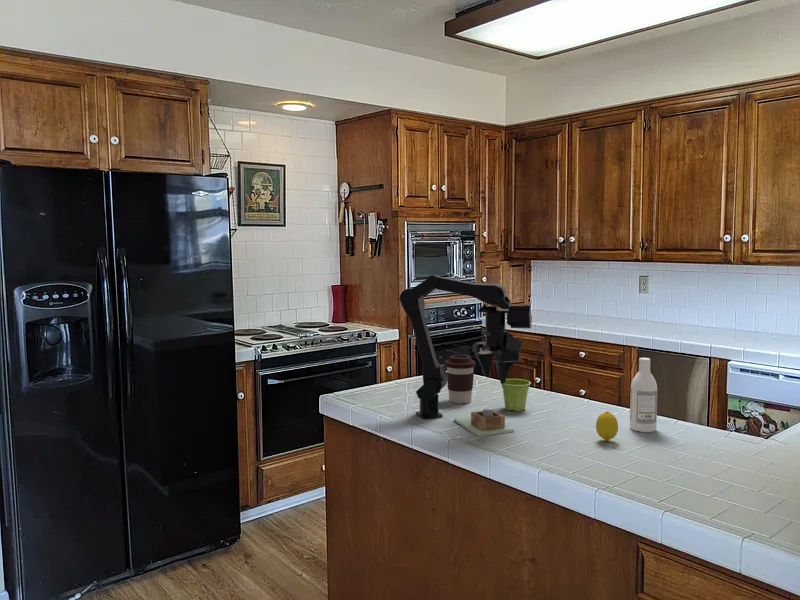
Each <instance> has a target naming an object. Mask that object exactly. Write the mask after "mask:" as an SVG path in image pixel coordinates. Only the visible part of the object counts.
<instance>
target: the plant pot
mask: <svg viewBox="0 0 800 600" xmlns="http://www.w3.org/2000/svg"><path fill="white" fill-rule="evenodd" d="M499 382H500V381H499ZM500 384H501V382H500ZM531 384H532V382H531V381H530V380H526V379H521V378H506V381H505V383H504V384H501V388H502V393H503V400H504V409H506V410H507V411H514V412H521V411H524V410H525V409H526V404H527V397H528V393H529V392H528V391H529V389H530V385H531Z"/></svg>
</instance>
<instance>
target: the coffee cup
mask: <svg viewBox="0 0 800 600" xmlns="http://www.w3.org/2000/svg"><path fill="white" fill-rule="evenodd" d="M444 364H445V368H446V373H447V374H448V377H447V383H446V385H447V389H448V400H449V401H448V402H450V403H452V404H457V403H459V405H461V404H462V403H465V404H469V403H471V401H472V395H473V388H474V375H475V372H474V368H475V367H476V361H475V360H473V359H472V357H471V356H470V355H465V354H455V355H449V358H448V359H446V360H445V361H444Z"/></svg>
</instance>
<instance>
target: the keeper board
mask: <svg viewBox="0 0 800 600" xmlns="http://www.w3.org/2000/svg"><path fill="white" fill-rule="evenodd" d="M493 410H494V409H488V408H486V409H482V411H483V417H489V416H493ZM453 422H455V423H456V422H457V423H456V424H458V425H459V424H460V425H459V426H461V427H463V428H464V427H465V428H464V429H466V430H467V429H468V430H467V431H469V432H470V431H471V432H470V433H472V434H474V435H475V436H477V437H482V436H484V437H485V436H491V435H492V436H493V435H499V434H500V433H501V434H508V433H515V432H514V431H515V429H514V428H513V427H511V426H509V425H508V424H506V423H505V428H504V429H495V430H487V431H481V430H480V429H478V428H476V427H475V426H473V425H471V415H469V416H461V417H454V418H453Z"/></svg>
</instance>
